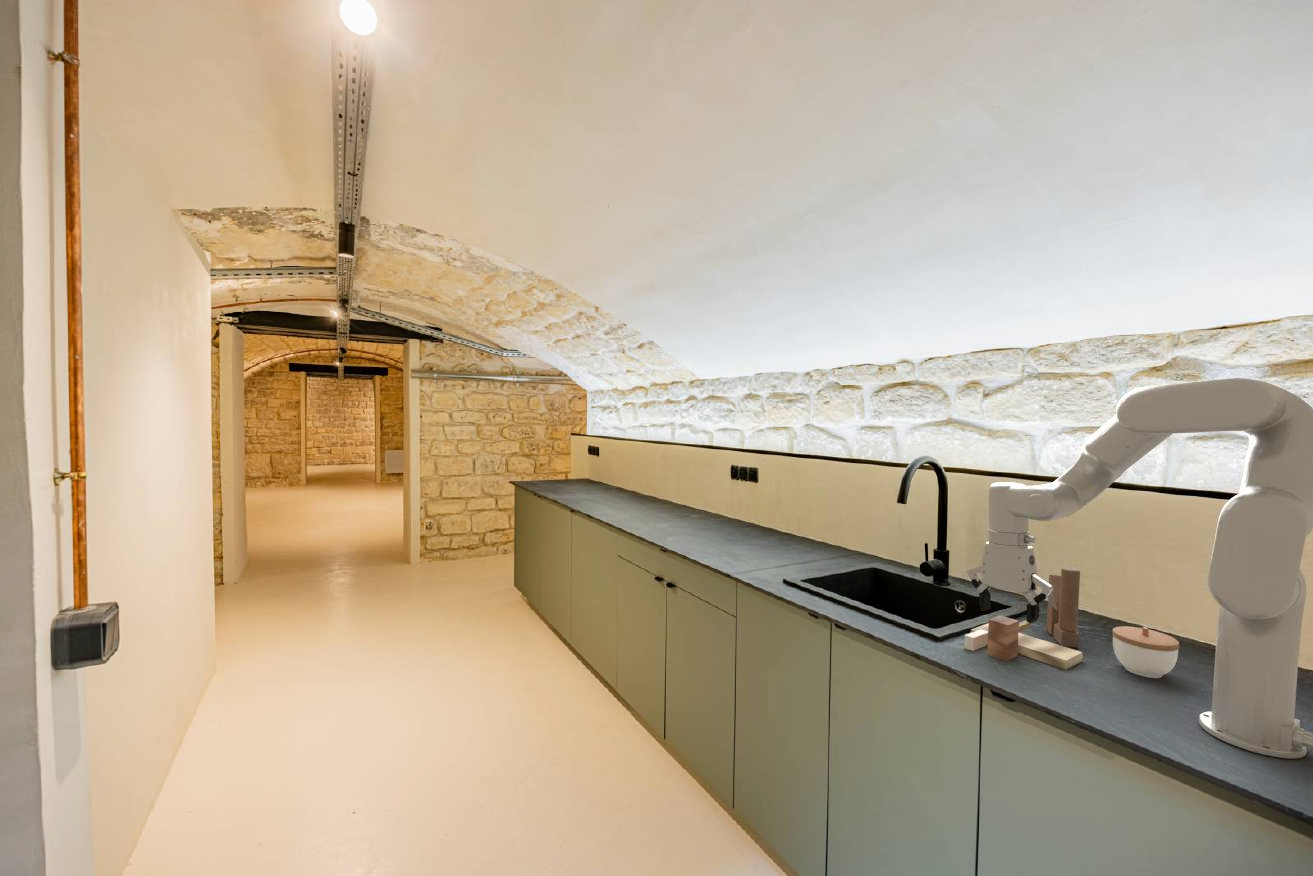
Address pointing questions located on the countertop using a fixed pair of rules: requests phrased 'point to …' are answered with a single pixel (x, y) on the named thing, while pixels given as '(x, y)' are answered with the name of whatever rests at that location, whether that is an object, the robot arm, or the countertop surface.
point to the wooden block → (1064, 607)
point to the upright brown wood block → (1004, 637)
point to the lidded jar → (1145, 651)
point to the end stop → (976, 640)
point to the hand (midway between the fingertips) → (1007, 615)
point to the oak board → (1044, 650)
